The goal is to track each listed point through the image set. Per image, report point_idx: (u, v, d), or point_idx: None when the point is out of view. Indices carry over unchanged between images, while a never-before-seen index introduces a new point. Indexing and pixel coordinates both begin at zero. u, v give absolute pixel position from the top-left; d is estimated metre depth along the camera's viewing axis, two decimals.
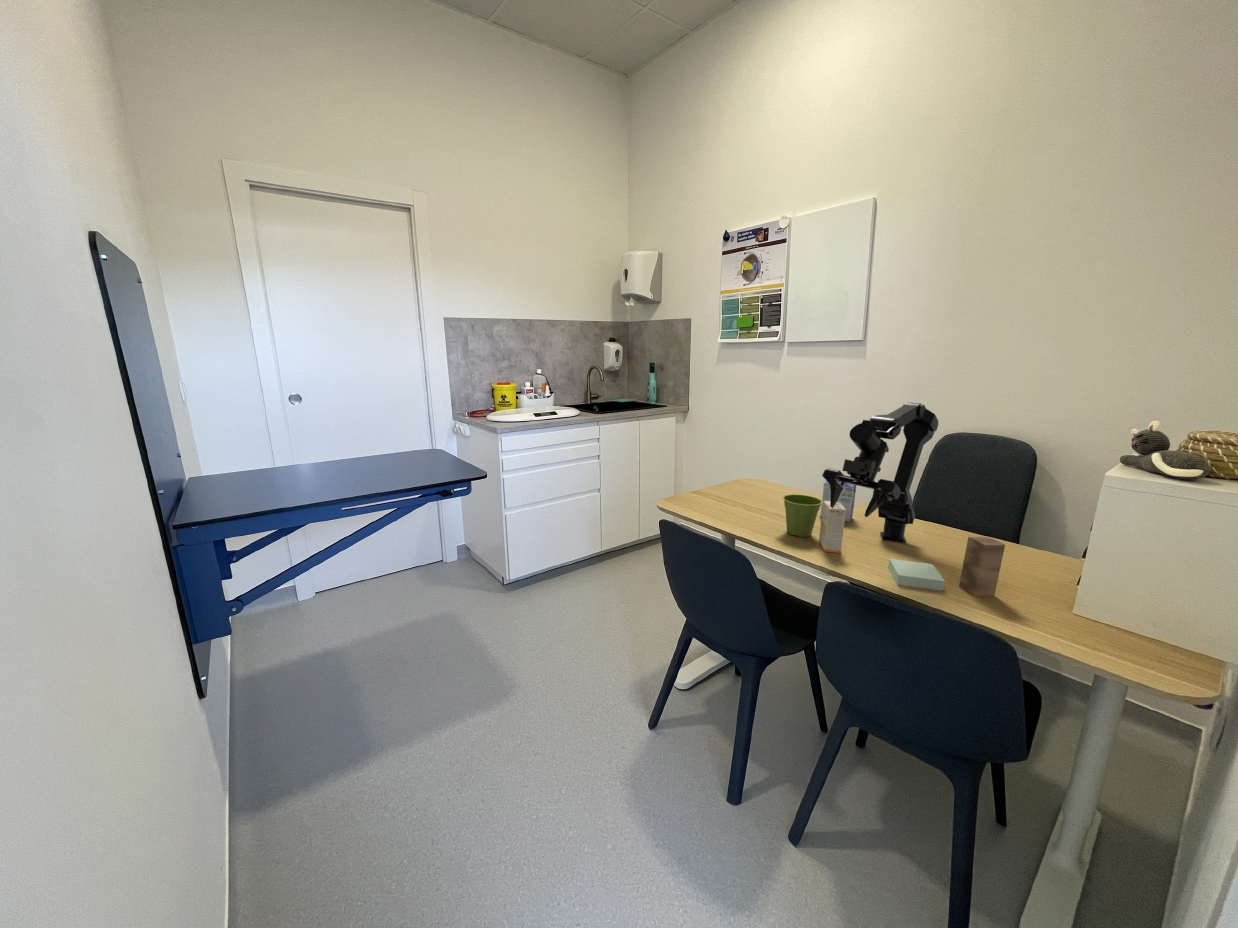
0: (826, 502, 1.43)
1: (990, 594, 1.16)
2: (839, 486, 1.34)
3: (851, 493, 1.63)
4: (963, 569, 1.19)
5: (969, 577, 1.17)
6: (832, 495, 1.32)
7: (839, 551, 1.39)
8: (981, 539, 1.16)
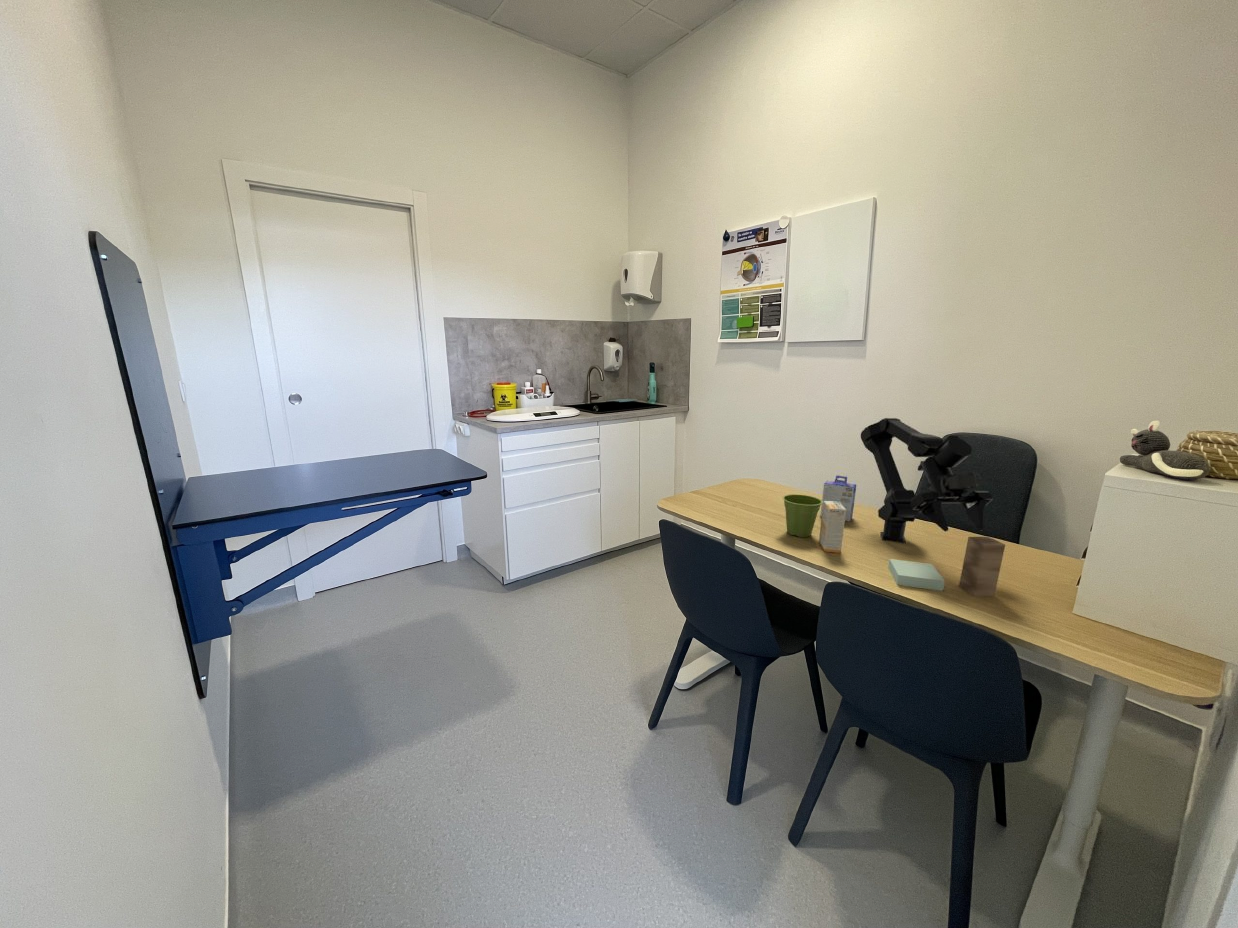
0: (826, 502, 1.43)
1: (990, 594, 1.16)
2: None
3: (851, 493, 1.63)
4: (963, 569, 1.19)
5: (969, 577, 1.17)
6: (942, 518, 1.22)
7: (839, 551, 1.39)
8: (981, 539, 1.16)
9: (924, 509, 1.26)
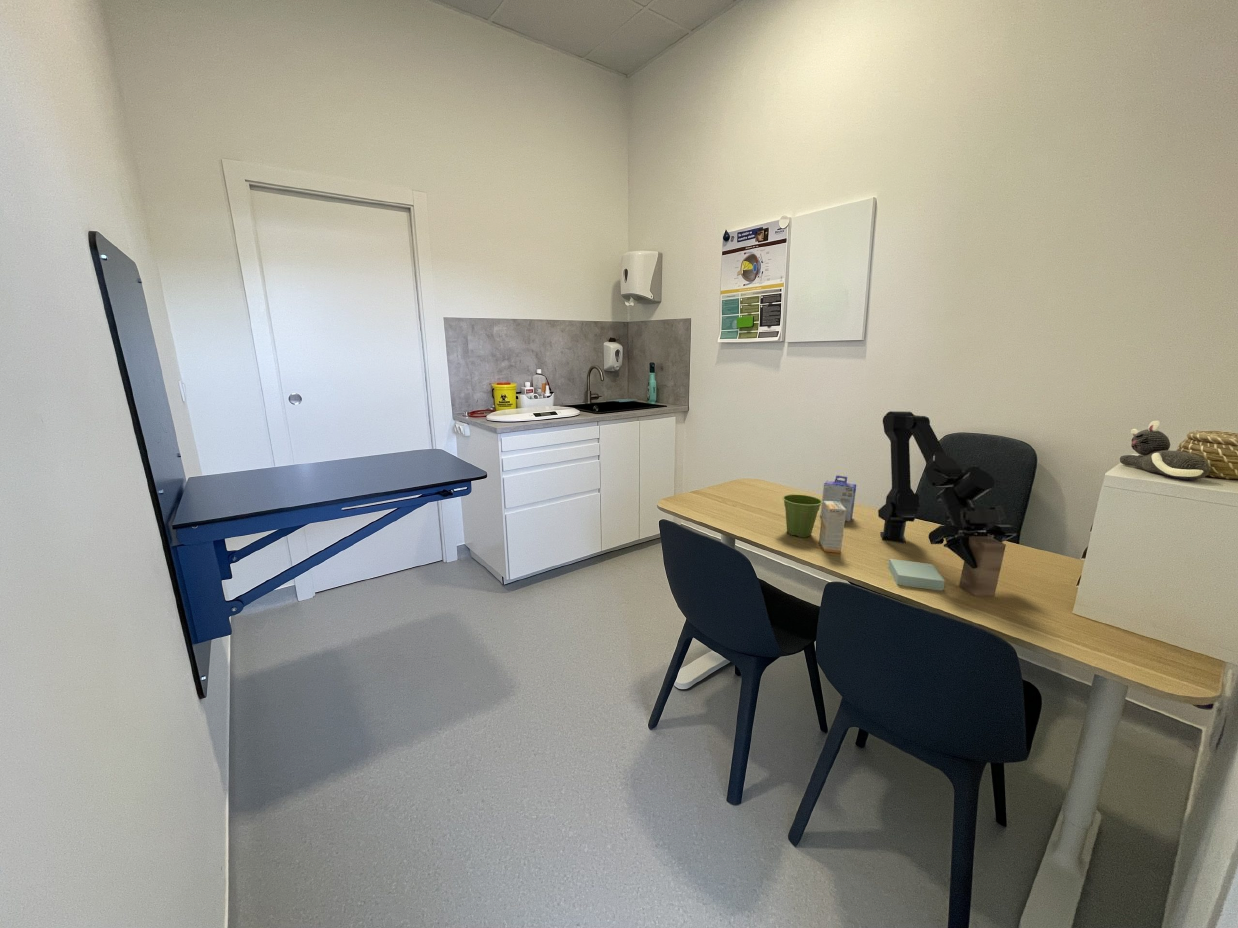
0: (826, 502, 1.43)
1: (990, 594, 1.16)
2: None
3: (851, 493, 1.63)
4: (963, 569, 1.19)
5: (969, 577, 1.17)
6: (970, 554, 1.16)
7: (839, 551, 1.39)
8: (982, 539, 1.16)
9: (950, 544, 1.19)
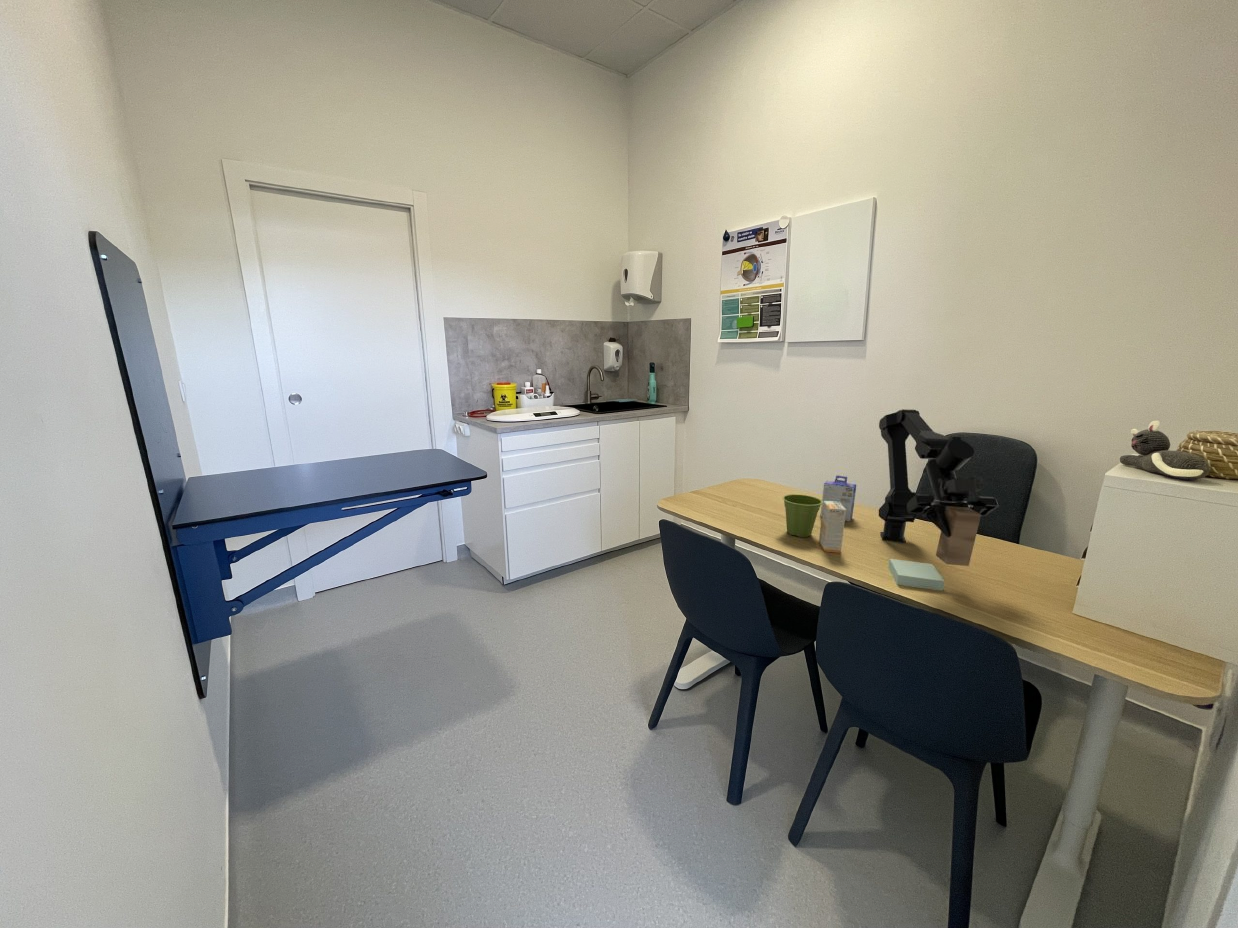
0: (826, 502, 1.43)
1: (964, 564, 1.16)
2: None
3: (851, 493, 1.63)
4: (940, 538, 1.20)
5: (943, 546, 1.18)
6: (945, 523, 1.17)
7: (839, 551, 1.39)
8: (959, 508, 1.17)
9: (928, 513, 1.21)
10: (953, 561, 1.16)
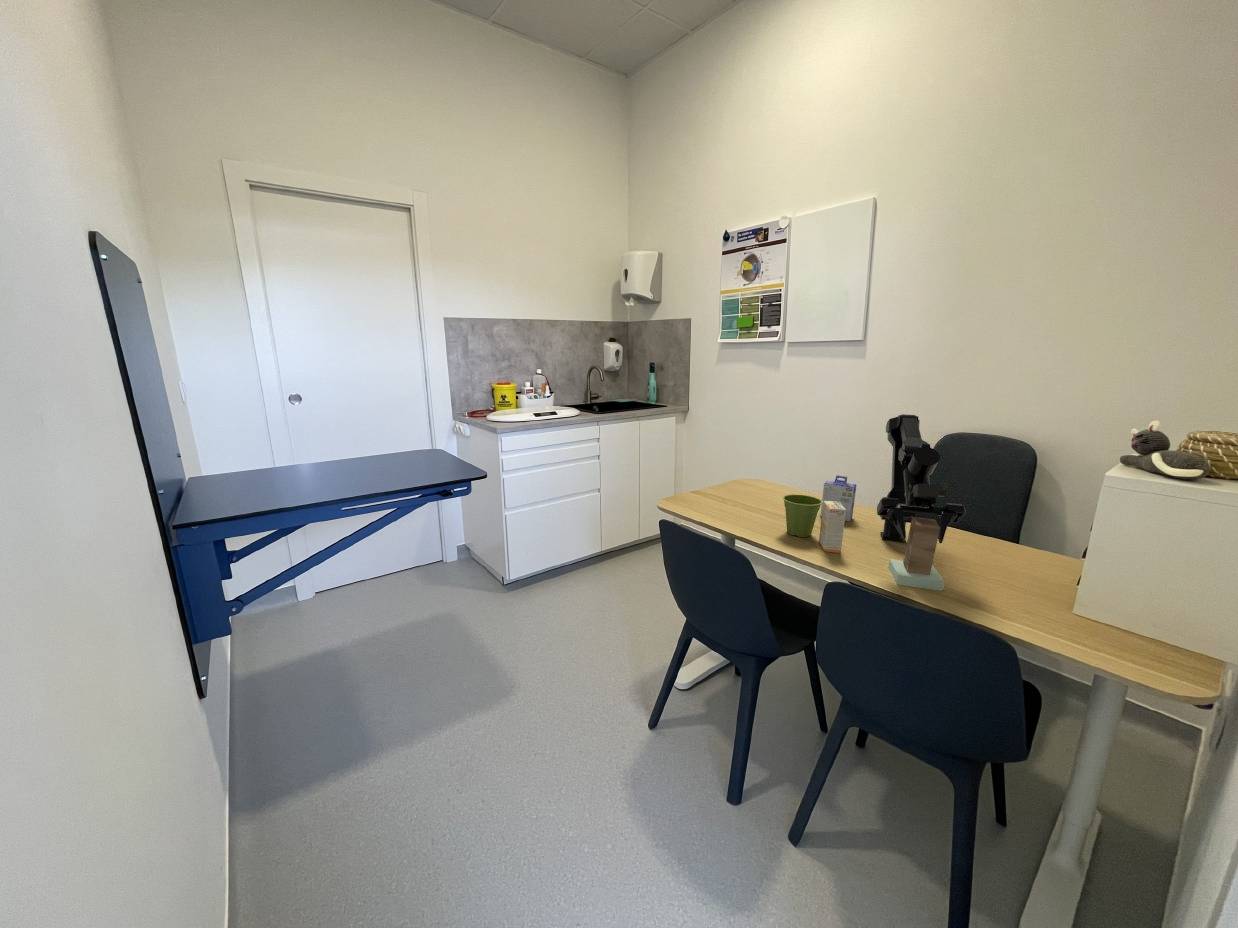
0: (826, 502, 1.43)
1: (925, 573, 1.21)
2: None
3: (851, 493, 1.63)
4: (906, 547, 1.25)
5: (907, 554, 1.23)
6: (902, 525, 1.22)
7: (839, 551, 1.39)
8: (923, 520, 1.20)
9: (889, 516, 1.26)
10: (914, 570, 1.21)
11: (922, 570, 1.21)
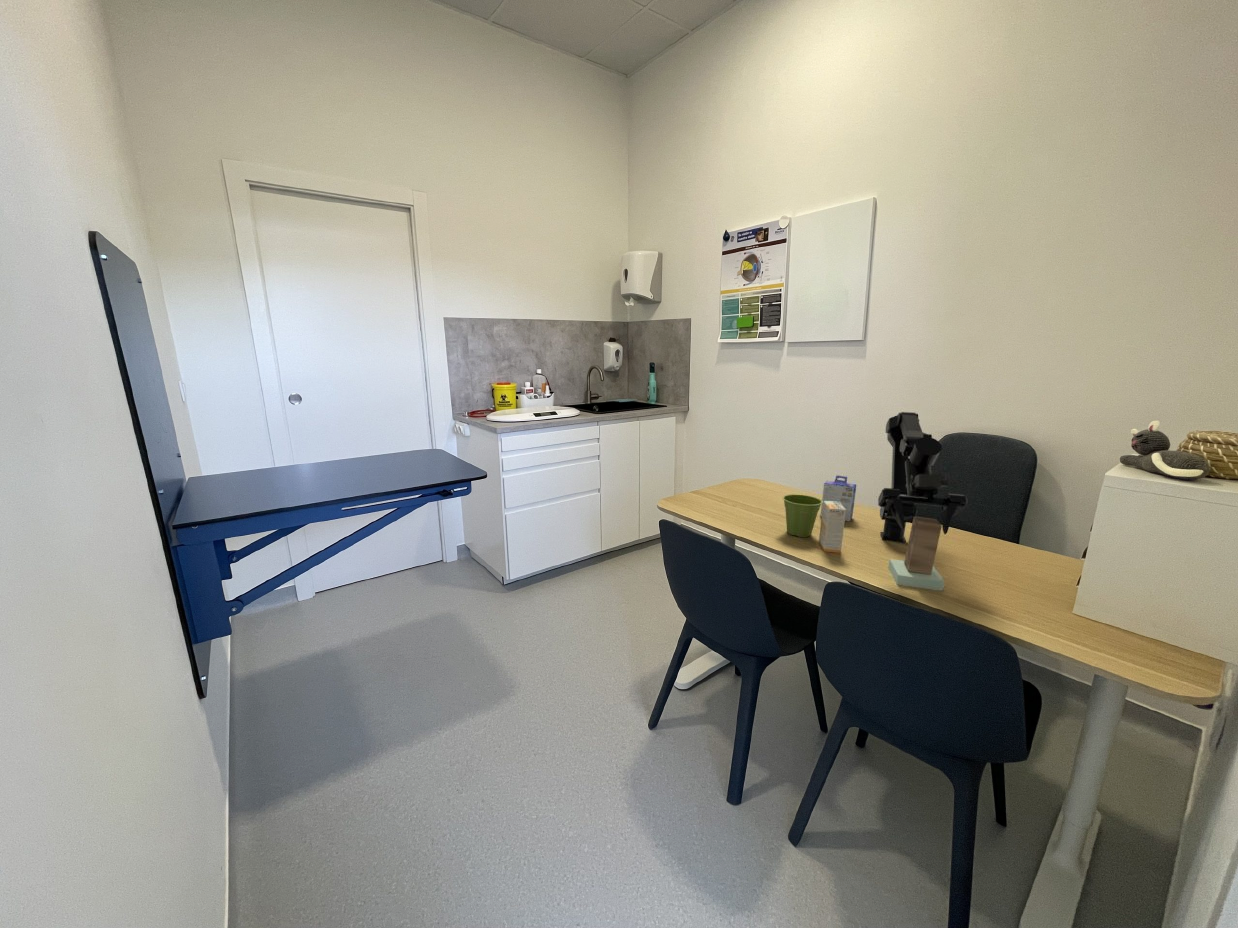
0: (826, 502, 1.43)
1: (926, 572, 1.21)
2: None
3: (851, 493, 1.63)
4: (907, 547, 1.25)
5: (908, 554, 1.24)
6: (901, 516, 1.22)
7: (839, 551, 1.39)
8: (924, 519, 1.22)
9: (888, 506, 1.26)
10: (915, 569, 1.21)
11: (923, 569, 1.21)
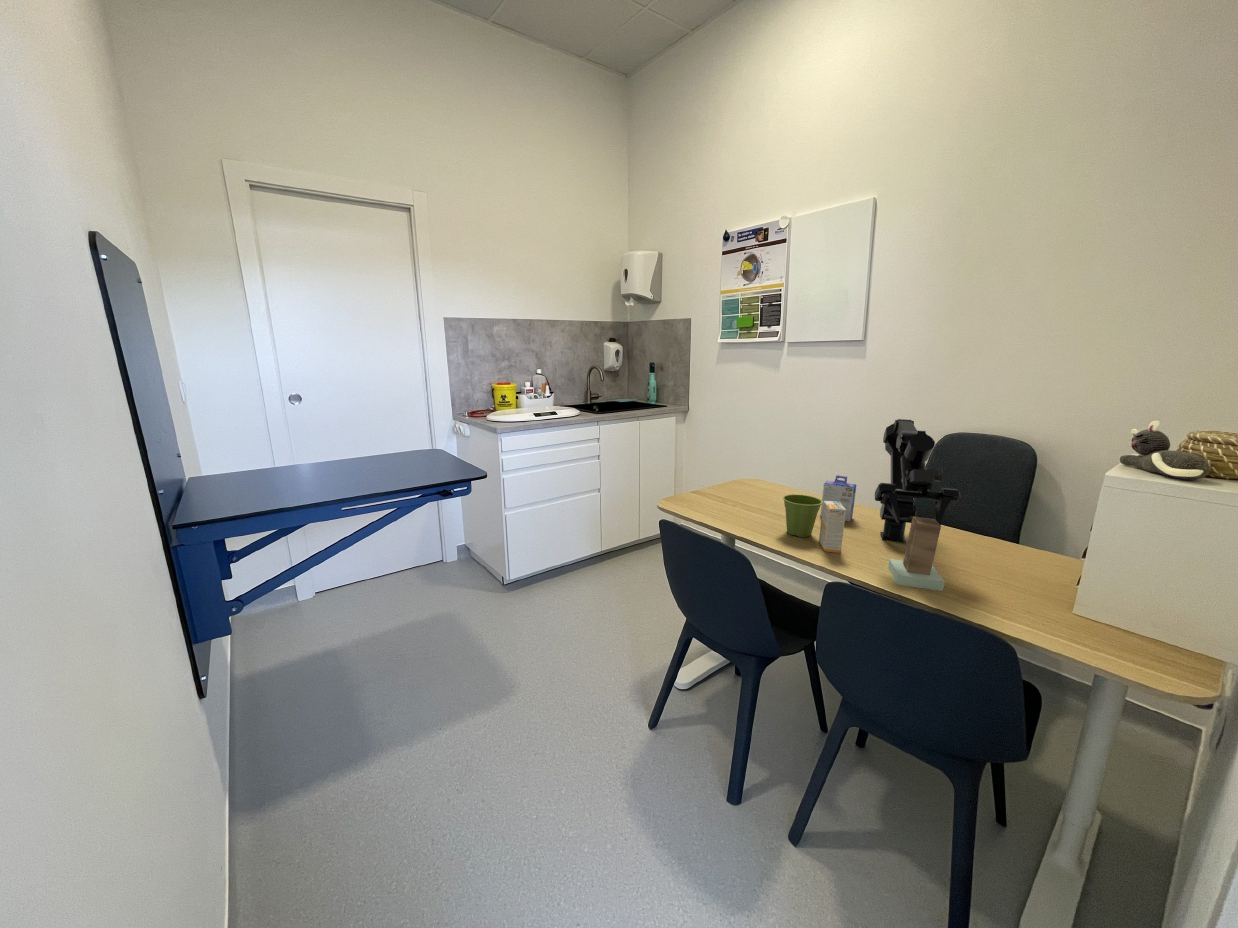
0: (826, 502, 1.43)
1: (925, 573, 1.21)
2: None
3: (851, 493, 1.63)
4: (906, 547, 1.25)
5: (907, 554, 1.23)
6: (896, 509, 1.26)
7: (839, 551, 1.39)
8: (923, 519, 1.21)
9: (884, 500, 1.30)
10: (914, 569, 1.21)
11: (922, 570, 1.21)
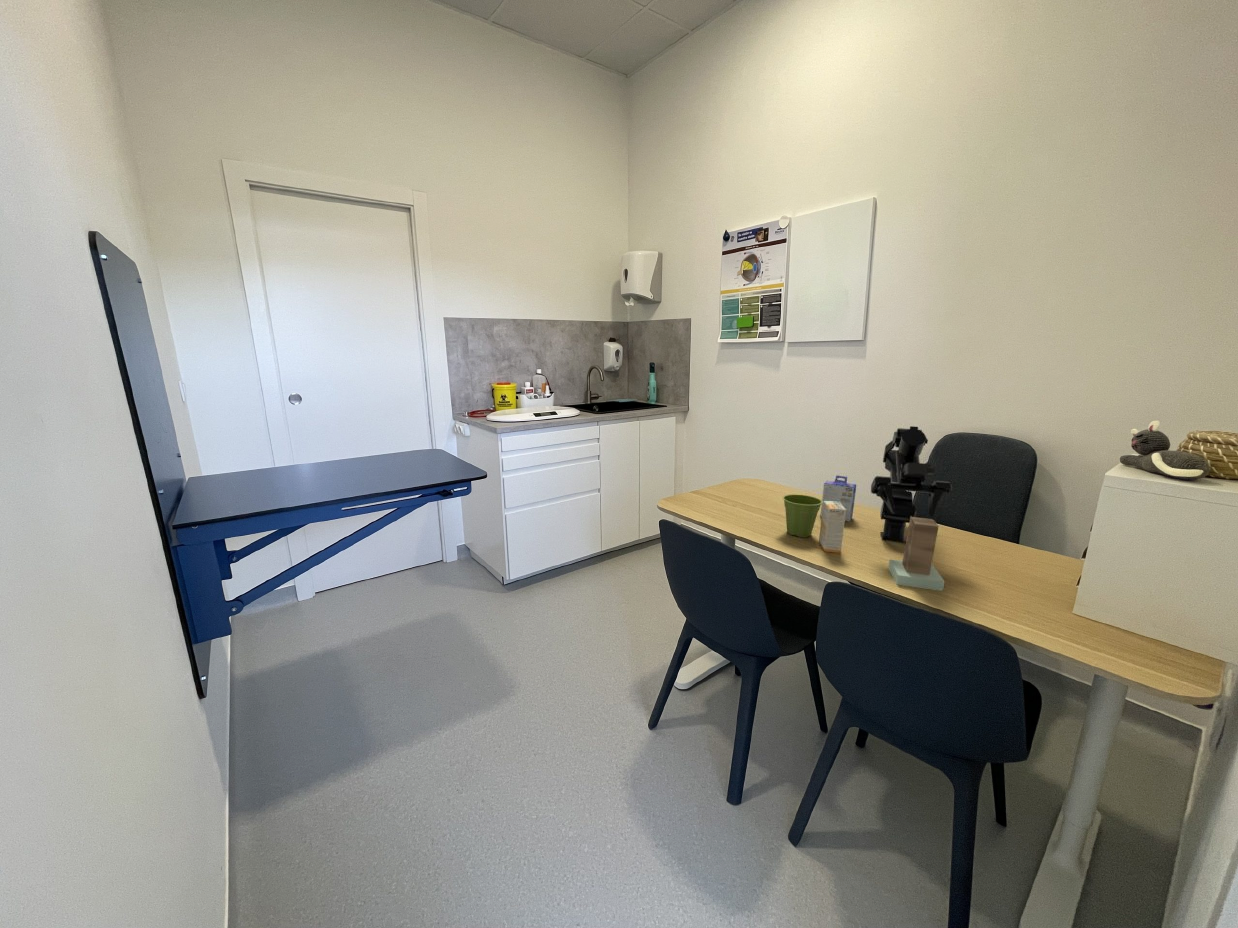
0: (826, 502, 1.43)
1: (924, 573, 1.21)
2: None
3: (851, 493, 1.63)
4: (905, 547, 1.25)
5: (906, 555, 1.23)
6: (891, 501, 1.33)
7: (839, 551, 1.39)
8: (921, 519, 1.21)
9: (880, 493, 1.37)
10: (913, 570, 1.21)
11: (921, 570, 1.21)
